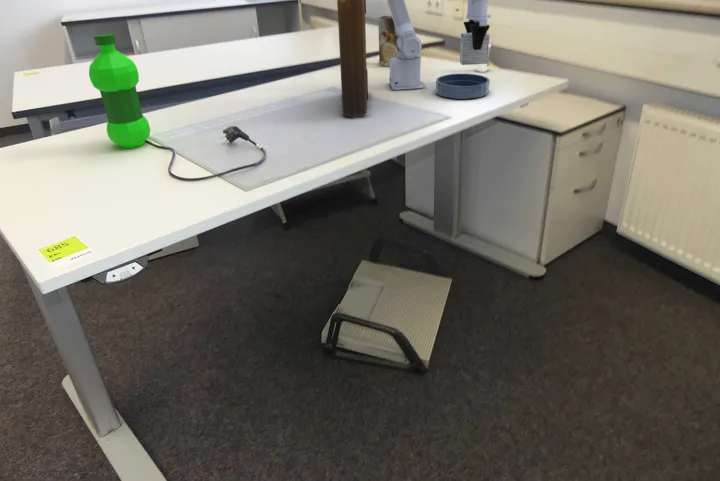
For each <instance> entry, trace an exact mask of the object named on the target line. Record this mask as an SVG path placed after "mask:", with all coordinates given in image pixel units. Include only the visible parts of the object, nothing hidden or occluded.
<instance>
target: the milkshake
mask: <svg viewBox="0 0 720 481" xmlns="http://www.w3.org/2000/svg"><path fill="white" fill-rule="evenodd" d="M494 41H495V39H493V41H492V43H489V50H488V63H487V64H476V71H477V72H478V73H479V72H480V73H485V72H487V71H488V67H489V61H490V56H491V55H490V54H491V49H492V44H493V42H494Z"/></svg>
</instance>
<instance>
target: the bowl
mask: <svg viewBox="0 0 720 481" xmlns="http://www.w3.org/2000/svg"><path fill="white" fill-rule="evenodd" d="M489 89H490V79H489V78H488V77H487V76H484V75H481V74H476V73H449V74H444V75H441V76H439V77H437V78H436V80H435V93H436V94H437V95H439V96H441V97H444V98H449V99H456V100H471V99H478V98H481V97H483V96H486V95H488V94H489V91H490V90H489Z"/></svg>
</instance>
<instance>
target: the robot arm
mask: <svg viewBox="0 0 720 481" xmlns="http://www.w3.org/2000/svg"><path fill="white" fill-rule="evenodd" d="M386 2H387V5H388V6H387V7H388V8H389V12H390V16H392V18H393V21H394V24H395V29H396V33H397V47H398V48H399V50H400V51H399V52H398V54H397V57H395V58H390V66H389V79H388V80H389V83H388V84H389V86H390V88H391V89H392V90H393V91H396V90H397V91H399V90H400V91H401V90H415V89H417V90H418V89H424V85H423V84H422V83H421V64H422V54H421V52H422V49H423V43H422V40H421V39H420V38H419V37H418V36H417V35H416V31H415V29H414V27H413V24H412V21H411V19H410V15H409V12H408V9H407V6H406V2H405V0H386ZM488 5H489V0H467V10H466V18H465V19H466V20H468V21H463V25H464V28H465V30H466V32H465V33H472V40H473V49H474V50H481V47H482V44H483V40H484V37H485V35H486V32H487V33H488V31H489V29H490V27H491V26H490V25H489V24H488V19H491V17H492V15H491V14H490V13H488V8H489V7H488Z"/></svg>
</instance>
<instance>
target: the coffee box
mask: <svg viewBox="0 0 720 481" xmlns="http://www.w3.org/2000/svg"><path fill="white" fill-rule="evenodd" d="M377 20H378V21H377V22H378V23H377V24H378V55H379V56H378V58H379V59H378V63H379V66H380V67H390V58H395V57H397V54H398V52H399V51H400V50H399V48H398V47H397V33H396V29H395V24H394V21H393V18H392V15H382V16H379V18H377Z"/></svg>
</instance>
